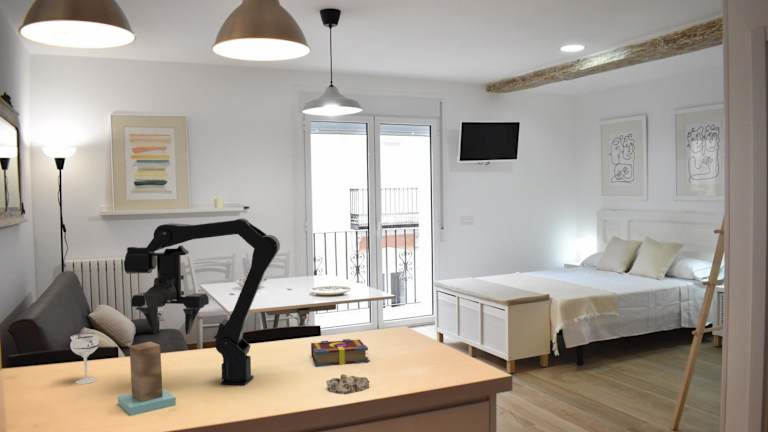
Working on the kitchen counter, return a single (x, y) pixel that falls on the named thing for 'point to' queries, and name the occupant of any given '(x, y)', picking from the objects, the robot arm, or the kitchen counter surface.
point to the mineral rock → (347, 384)
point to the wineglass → (84, 350)
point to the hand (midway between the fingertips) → (170, 333)
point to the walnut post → (146, 371)
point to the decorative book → (338, 352)
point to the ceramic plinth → (145, 403)
